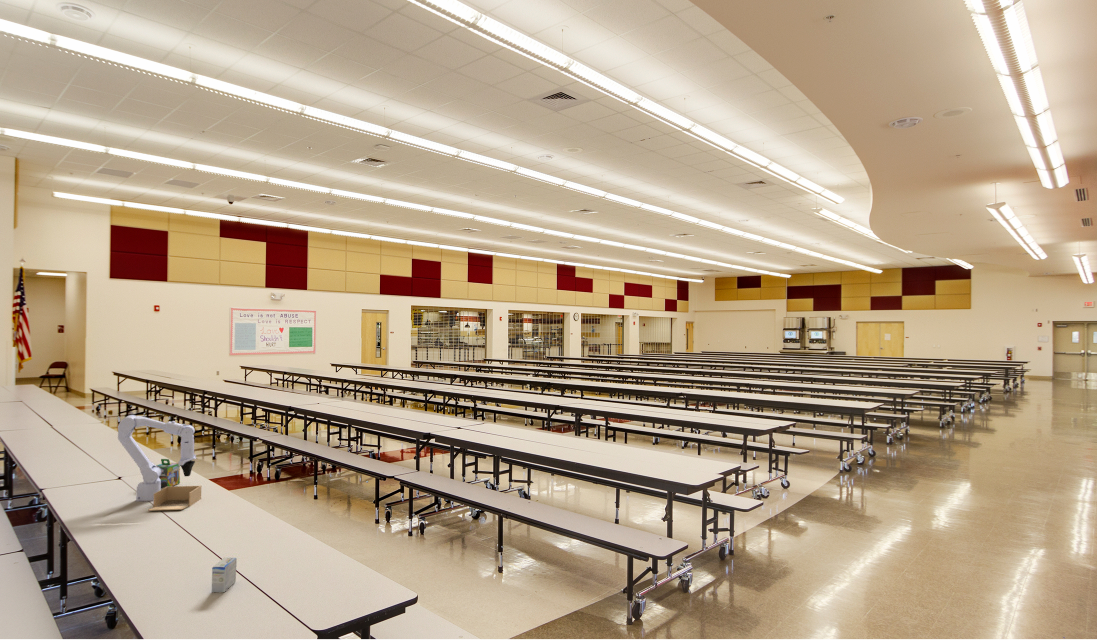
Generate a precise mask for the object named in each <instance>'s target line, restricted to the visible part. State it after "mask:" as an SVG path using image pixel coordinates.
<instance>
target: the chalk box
mask: <svg viewBox="0 0 1097 640" xmlns="http://www.w3.org/2000/svg"><path fill="white" fill-rule="evenodd" d="M160 461H161V463H159V464H157V465H156V464H155V466H157V467H159V468H160V469H161V475H160V476H159V478H160V479H161V489H163V488H165V487H171V486H177V485H179V484H180V483H181V478H180V477H181V473H180V469H181V466H180V465H178V462H170V459H169V458H161V459H160Z"/></svg>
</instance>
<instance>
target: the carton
mask: <svg viewBox="0 0 1097 640" xmlns="http://www.w3.org/2000/svg"><path fill="white" fill-rule="evenodd" d="M201 500H202V485H179V486H177V485H174V486H171V487H165V488H161V490H160V491H158V492H156V493H155V494H154V501H153V507H152V508H154V507H163V506H188V507H192V506H193V505H195V504H196V503H197V502H198V501H201ZM188 507H187V508H188Z"/></svg>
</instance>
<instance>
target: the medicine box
mask: <svg viewBox="0 0 1097 640" xmlns="http://www.w3.org/2000/svg"><path fill="white" fill-rule="evenodd" d="M237 562H238V561H237V557H223V558H222V559H220V560H219V561H218V562H217V563H216V564H215V565H214V566H213V567H211V568H212V571H211V593H212V592H224V593H225V591H226V590H227V591H228V590H229V589H230V588H231V587H232V586H233V585H234V584H235V583H236V581H237ZM228 588H229V589H228ZM227 591H226V592H227Z"/></svg>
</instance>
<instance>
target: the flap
mask: <svg viewBox="0 0 1097 640" xmlns="http://www.w3.org/2000/svg"><path fill="white" fill-rule="evenodd" d="M186 508H188V506H187V505H186V506H183V505H182V506H177V505H175V506H165V505H164V506H160V507H154V508H153V507H152V508H150V509H148V511H177V510H184V509H186Z"/></svg>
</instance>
